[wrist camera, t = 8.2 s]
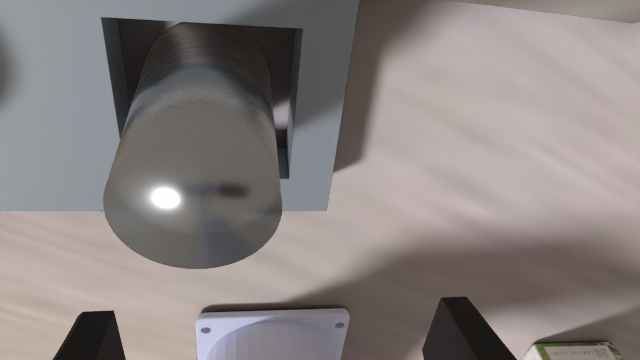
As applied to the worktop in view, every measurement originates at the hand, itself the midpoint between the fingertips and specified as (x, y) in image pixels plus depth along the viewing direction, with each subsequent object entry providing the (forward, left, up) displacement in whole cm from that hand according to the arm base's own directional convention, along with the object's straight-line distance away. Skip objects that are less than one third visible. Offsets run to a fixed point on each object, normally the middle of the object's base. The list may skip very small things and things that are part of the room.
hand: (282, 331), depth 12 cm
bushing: (+1, +2, -10) cm, 10 cm away
